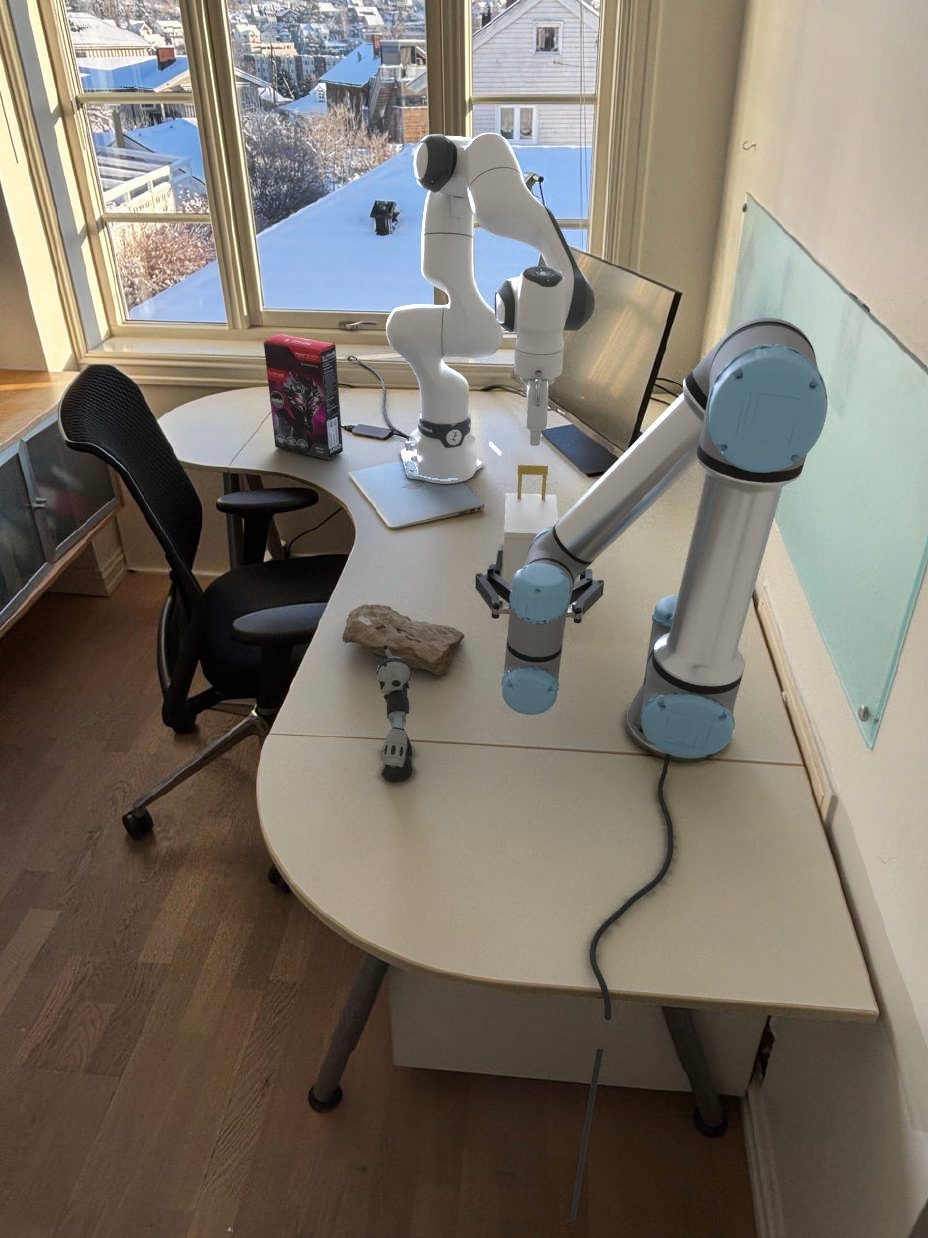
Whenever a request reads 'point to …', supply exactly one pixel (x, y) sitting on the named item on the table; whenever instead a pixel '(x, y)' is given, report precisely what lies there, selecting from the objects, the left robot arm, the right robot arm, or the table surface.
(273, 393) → the graphics card box
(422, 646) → the stone
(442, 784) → the table surface
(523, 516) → the white lid with handle
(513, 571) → the chest
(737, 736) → the table surface
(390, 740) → the robot
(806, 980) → the table surface
